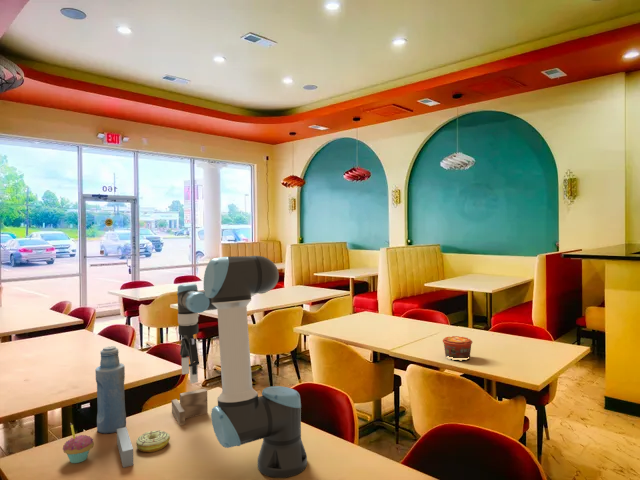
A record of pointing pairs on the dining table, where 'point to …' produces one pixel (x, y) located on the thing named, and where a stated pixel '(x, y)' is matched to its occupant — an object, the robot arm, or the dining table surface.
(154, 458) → the dining table surface
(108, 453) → the dining table surface
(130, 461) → the backstop
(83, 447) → the cupcake
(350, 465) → the dining table surface
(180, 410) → the pusher
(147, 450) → the decorated donut
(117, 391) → the bottle
